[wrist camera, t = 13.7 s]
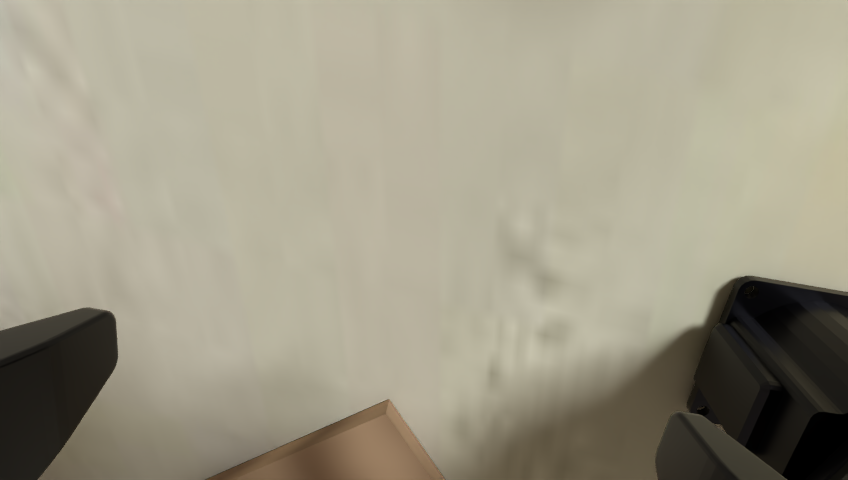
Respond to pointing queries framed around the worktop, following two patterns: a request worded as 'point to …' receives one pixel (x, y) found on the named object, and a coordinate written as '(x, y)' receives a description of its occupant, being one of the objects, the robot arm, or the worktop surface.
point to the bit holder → (346, 453)
